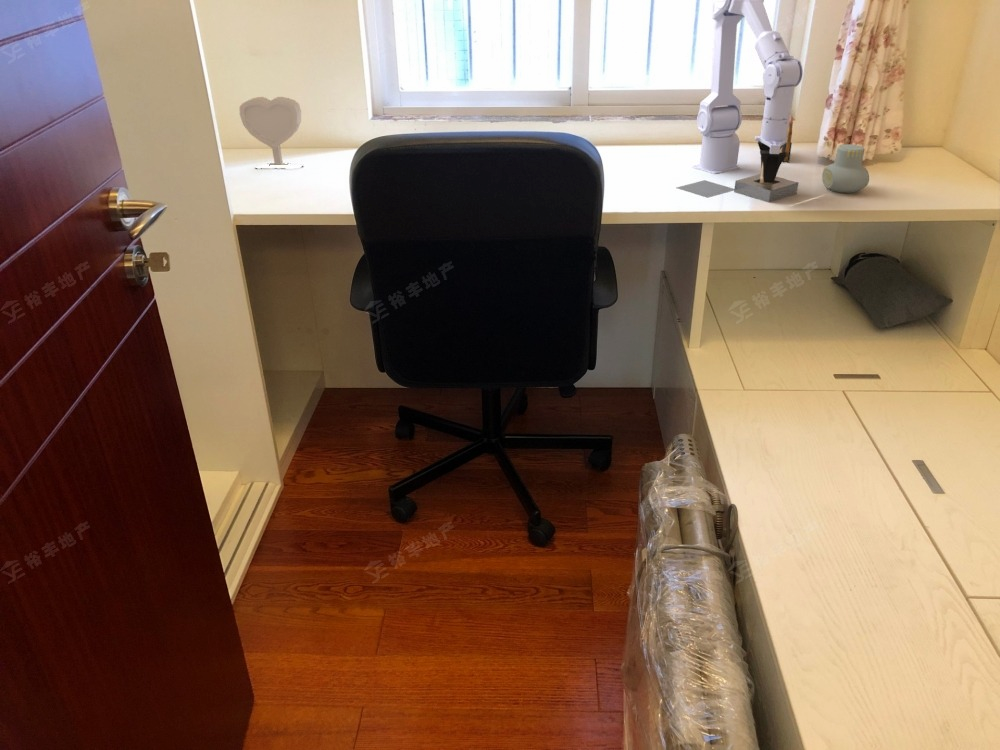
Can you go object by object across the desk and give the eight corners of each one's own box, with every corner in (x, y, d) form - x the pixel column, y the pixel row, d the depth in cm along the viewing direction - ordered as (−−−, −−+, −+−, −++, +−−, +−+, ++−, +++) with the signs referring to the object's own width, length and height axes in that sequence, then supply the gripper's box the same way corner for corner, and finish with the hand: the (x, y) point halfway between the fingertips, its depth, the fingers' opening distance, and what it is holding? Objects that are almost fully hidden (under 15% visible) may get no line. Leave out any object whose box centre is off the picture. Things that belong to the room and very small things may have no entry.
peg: (762, 191, 188) (768, 153, 183) (774, 194, 186) (779, 155, 181) (755, 194, 186) (760, 155, 182) (766, 196, 184) (772, 158, 180)
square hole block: (761, 185, 192) (763, 173, 190) (796, 195, 185) (798, 182, 183) (733, 193, 187) (735, 180, 186) (768, 203, 180) (770, 190, 178)
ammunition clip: (767, 152, 218) (774, 107, 212) (774, 152, 218) (780, 107, 212) (782, 162, 209) (789, 116, 203) (789, 162, 209) (796, 115, 203)
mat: (704, 181, 196) (704, 180, 196) (736, 190, 189) (736, 189, 189) (675, 188, 191) (675, 187, 191) (707, 198, 184) (707, 197, 184)
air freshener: (869, 196, 183) (878, 152, 178) (833, 197, 183) (841, 153, 178) (851, 182, 192) (860, 141, 187) (817, 183, 193) (825, 141, 188)
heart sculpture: (248, 169, 215) (235, 100, 206) (254, 164, 219) (243, 96, 210) (304, 169, 214) (294, 99, 205) (309, 164, 218) (300, 96, 209)
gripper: (755, 110, 184) (748, 168, 191) (759, 124, 172) (751, 185, 179) (787, 110, 183) (778, 169, 189) (793, 125, 170) (783, 187, 177)
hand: (767, 177), depth 184 cm, fingers open, 7 cm apart
